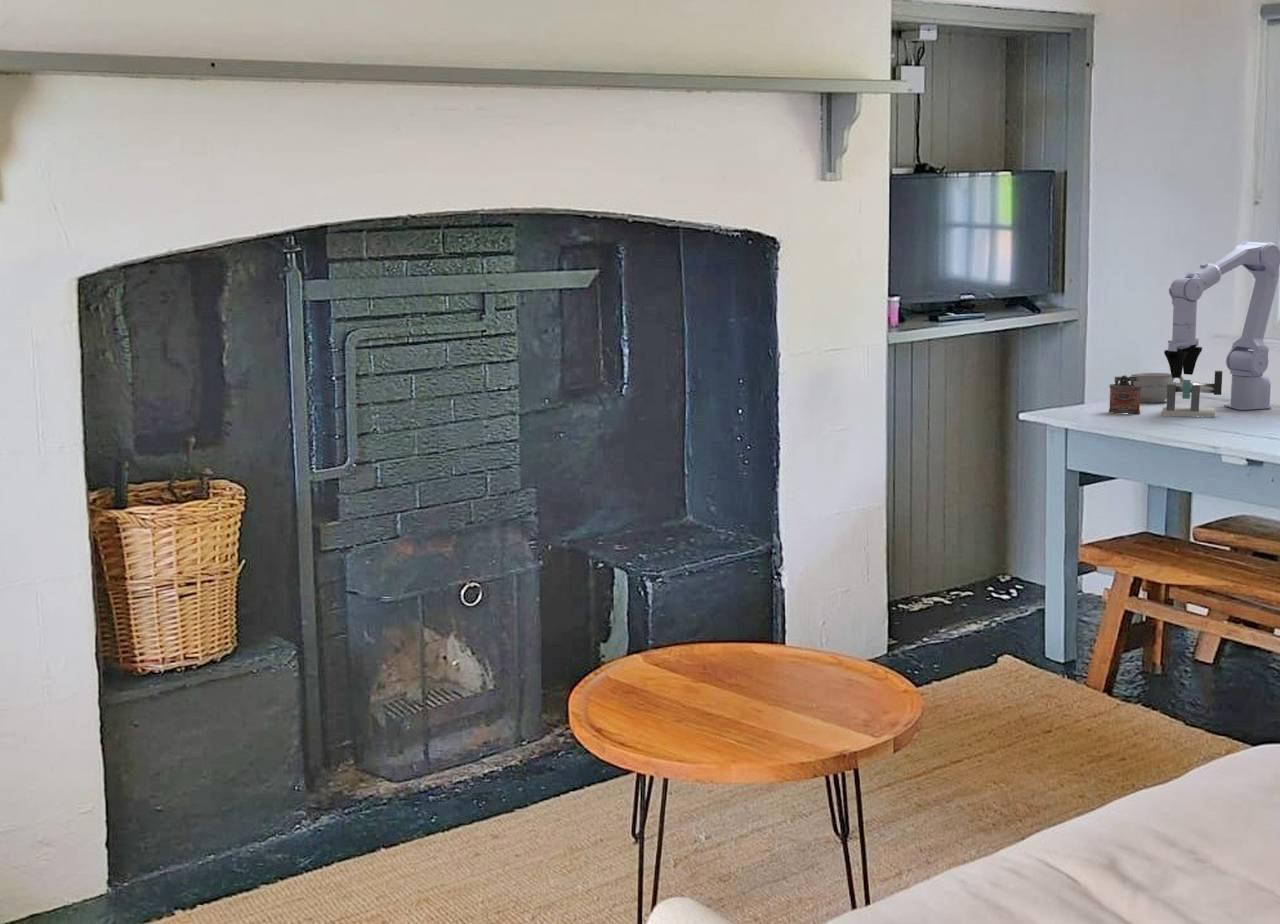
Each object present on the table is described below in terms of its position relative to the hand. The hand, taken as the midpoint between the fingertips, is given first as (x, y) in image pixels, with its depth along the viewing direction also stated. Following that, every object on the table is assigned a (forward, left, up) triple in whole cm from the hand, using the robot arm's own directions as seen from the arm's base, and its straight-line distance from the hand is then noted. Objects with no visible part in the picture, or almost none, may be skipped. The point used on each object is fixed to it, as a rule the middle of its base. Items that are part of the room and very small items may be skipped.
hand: (1182, 376), depth 409 cm
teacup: (-6, -21, -10) cm, 25 cm away
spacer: (-1, 0, -6) cm, 6 cm away
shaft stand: (-1, +1, -10) cm, 10 cm away
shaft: (-3, +1, -5) cm, 6 cm away
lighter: (+13, -6, -10) cm, 18 cm away
